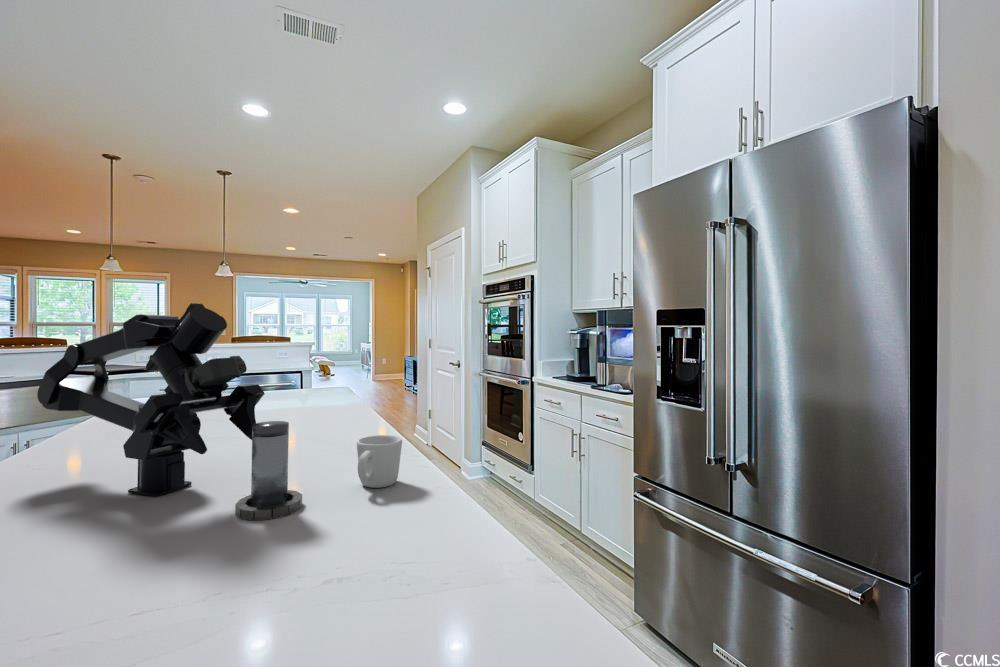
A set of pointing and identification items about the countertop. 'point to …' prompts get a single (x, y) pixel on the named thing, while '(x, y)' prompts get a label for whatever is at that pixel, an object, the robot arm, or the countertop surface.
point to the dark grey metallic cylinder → (269, 464)
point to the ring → (268, 508)
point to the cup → (379, 460)
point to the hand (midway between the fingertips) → (232, 445)
